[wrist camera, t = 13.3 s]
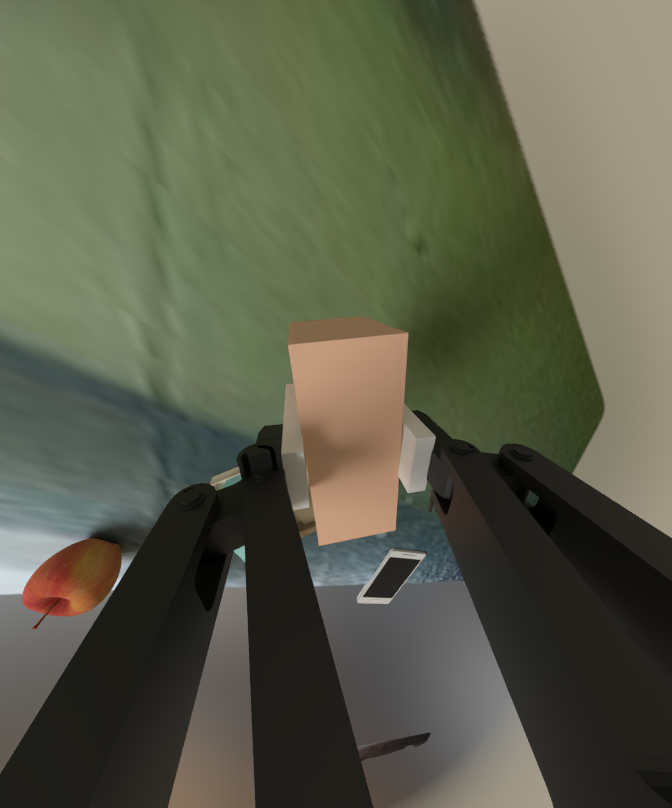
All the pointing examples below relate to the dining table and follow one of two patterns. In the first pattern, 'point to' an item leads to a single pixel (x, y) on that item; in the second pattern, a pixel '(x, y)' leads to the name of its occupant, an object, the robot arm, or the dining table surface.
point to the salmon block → (350, 421)
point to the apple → (74, 579)
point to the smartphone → (390, 576)
